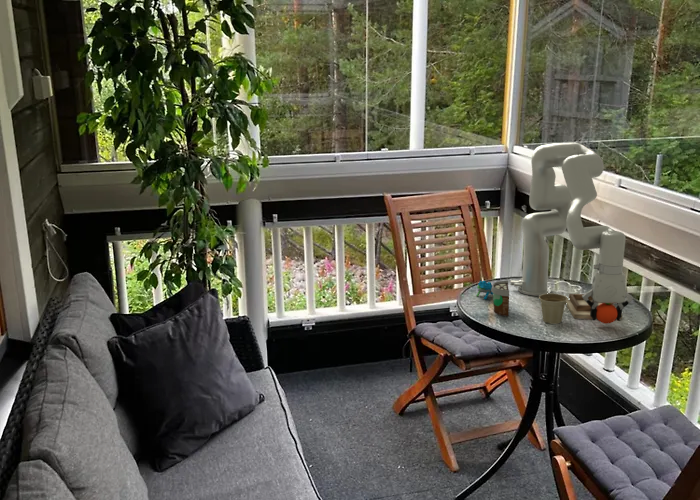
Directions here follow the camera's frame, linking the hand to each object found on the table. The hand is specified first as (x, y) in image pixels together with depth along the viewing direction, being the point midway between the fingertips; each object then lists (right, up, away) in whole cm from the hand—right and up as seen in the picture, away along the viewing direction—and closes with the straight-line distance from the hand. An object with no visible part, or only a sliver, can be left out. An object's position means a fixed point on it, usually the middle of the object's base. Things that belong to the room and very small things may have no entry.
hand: (605, 318), depth 209 cm
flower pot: (-16, -2, +6) cm, 17 cm away
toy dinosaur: (-32, +4, +33) cm, 46 cm away
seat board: (+2, +2, +16) cm, 17 cm away
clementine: (0, -2, 0) cm, 2 cm away
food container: (-32, +1, +17) cm, 36 cm away
